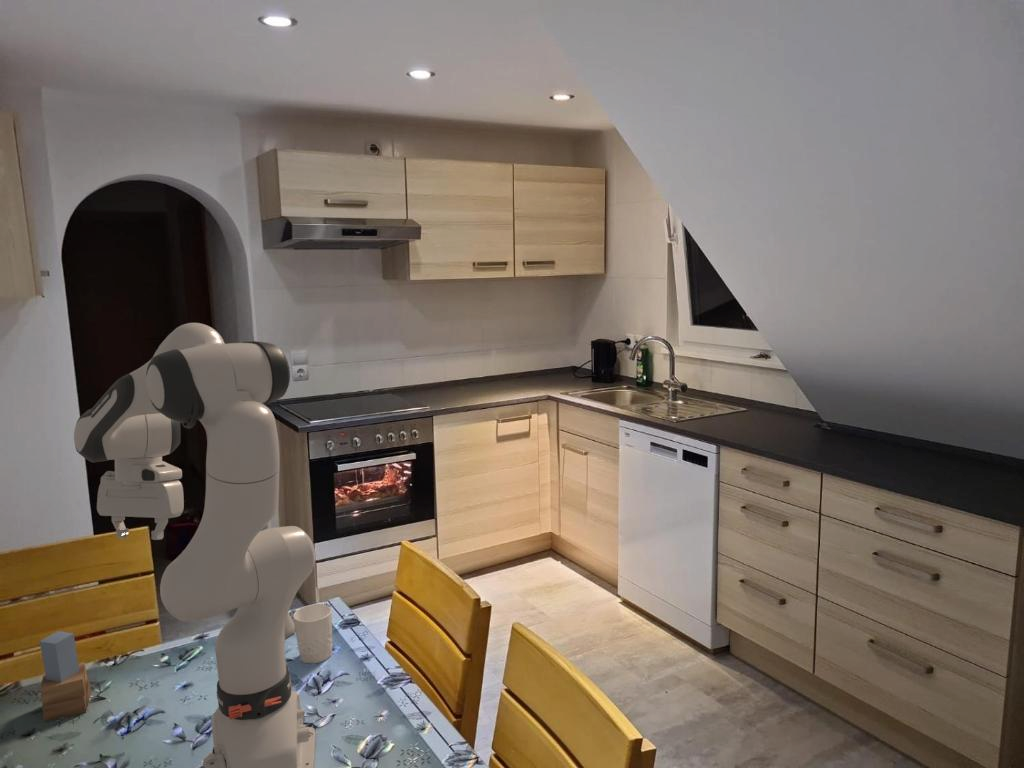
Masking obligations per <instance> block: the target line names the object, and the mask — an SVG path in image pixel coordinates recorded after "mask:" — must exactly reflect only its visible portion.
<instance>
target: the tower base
mask: <svg viewBox="0 0 1024 768" xmlns="http://www.w3.org/2000/svg"><path fill="white" fill-rule="evenodd" d="M90 683H91V682H90V679H89V678H87V684H86V693H85V696H82V697H78V698H74V699H70V700H66V701H62V702H59V703H55V704H51V705H47V706H43V704H42V705H41V711H42V716H43V722H44V723H47V722H51V721H50V720H52V721H55V719H56V720H60V719H63V718H62V717H65V718H68V717H67V716H69V717H73V716H72V715H74V716H77V715H76V714H78V715H81V713H82V714H86V713H87V712H86V711H88V708H89V704H88V703H90V700H89V699H91V696H92V690H91V684H90ZM90 695H91V696H90ZM87 707H88V708H87ZM85 712H86V713H85ZM59 718H60V719H59Z"/></svg>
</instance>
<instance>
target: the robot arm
mask: <svg viewBox="0 0 1024 768" xmlns="http://www.w3.org/2000/svg"><path fill="white" fill-rule="evenodd" d="M290 381H291V369H290V365H289V362H288V359H287V357H286V355H285V354H284V352H283V350H282V349H280V348H279V347H278V346H277V345H276V344H273V343H271V342H263V341H257V340H256V341H253V340H252V341H251V340H250V341H243V342H232V343H231V342H229V343H225V341H224V339H223V337H222V336H221V333H219V332H218V331H217V330H216V329H214V328H213V327H211V326H209V325H207V324H204V323H200V322H188V323H184V324H181V325H179V326H177V327H176V328H175V329H173V331H172V332H170V333H169V334H168V335H167V336H166V337H165V339H164V340H163V341H162V342H161V343H160V344H159V345H158V348H157V349H156V350H155V352H154V354H153V356H152V357H151V358H150V359H149V360H148V361H147V362H146V363H144V364H143V365H141V366H140V367H139V368H137V369H135V370H133V371H131V372H129V373H126V374H125V375H122V376H121V377H119V378H118V379H117V380H116V381H114V382H113V384H112V385H111V386H110V387H109V388H108V389H107V390H106V391H105V393H103V395H102V396H101V398H100V399H99V400H98V401H97V402H96V403H95V405H93V407H92V408H89V409H88V410H86V411H85V412H83V413H82V414H81V415H80V416H79V418H78V419H77V421H76V424H75V426H74V432H73V442H74V447H75V450H76V452H77V454H79V455H80V456H81V457H82V458H84V459H85V460H86V461H88V462H91V463H100V462H107V461H110V460H111V461H113V460H114V471H112V470H107V471H106V472H105V473H104V474H103V475H102V476H101V477H100V483H99V486H98V490H97V497H96V498H97V500H96V501H97V502H96V511H97V513H98V514H99V516H103V517H109V516H110V517H111V523H112V524H113V526H114V529H115V530H116V532H115V533H116V534H115V535H116V538H118V539H124V538H128V537H129V531H130V530H129V528H127V527H126V525H125V522H124V521H125V520H126V517H129V518H130V517H131V518H154V523H155V524H156V526H155V527H154V528H155V529H154V530H151V533H150V534H151V537H150V539H151V540H154V541H158V540H163V539H164V530H165V529H166V526H167V525H168V523H169V519H172V518H177V517H180V516H181V515H182V513H183V512H184V508H185V507H184V505H185V504H184V503H185V500H184V487H183V483H182V482H181V481H180V480H181V479H182V478H183V470H182V469H181V468H179V467H178V466H175V465H173V464H170V463H168V462H166V461H163V457H164V456H167V455H171V454H172V453H173V452H175V450H176V449H177V448H178V447H179V446H180V444H181V441H182V440H181V436H182V435H181V425H182V427H183V428H185V429H192V428H194V427H195V425H196V423H197V421H199V422H200V423H201V425H202V426H203V428H204V430H205V434H206V442H207V443H206V444H207V445H206V459H205V496H204V497H205V498H204V508H203V513H202V517H201V520H200V522H199V525H198V527H197V529H196V531H195V533H194V535H193V536H192V538H191V539H190V541H189V542H188V544H187V546H186V547H185V549H183V550H182V551H181V553H180V554H179V555H178V556H177V557H176V558H175V559H173V561H171V562H170V563H169V564H168V565H167V566H166V568H165V569H164V572H163V574H162V576H161V579H160V584H159V590H160V592H159V593H160V594H159V595H160V599H161V603H162V604H163V606H164V608H165V609H166V610H167V612H168V613H169V614H170V615H171V616H172V617H174V618H176V619H177V620H179V621H180V622H183V623H185V622H192V621H193V622H194V621H199V620H206V619H211V618H215V617H217V616H220V615H222V614H225V613H228V612H230V611H233V610H235V609H237V610H236V612H235V614H234V615H233V616H232V617H231V618H230V620H229V621H228V622H227V623H226V624H225V625H224V626H223V627H222V628H221V630H220V631H219V633H218V634H217V637H216V640H215V644H214V645H215V646H214V650H215V659H216V660H215V661H216V668H217V676H218V677H217V678H218V680H217V682H216V700H217V704H218V707H217V709H215V711H214V713H213V714H212V715H211V716H210V720H211V732H212V743H213V747H212V751H211V752H210V753H209V754H207V755H206V756H205V757H204V758H203V760H202V766H203V768H315V759H316V757H315V756H316V743H317V742H316V741H317V733H316V730H315V728H313V727H311V726H307V725H306V724H304V722H303V719H304V718H305V709H304V708H302V706H301V705H302V704H301V696H300V693H298V692H297V691H294V690H293V689H292V677H291V674H290V669H289V667H288V665H287V663H286V662H287V661H286V645H285V642H286V641H285V639H286V638H285V636H284V633H285V624H286V619H287V615H288V613H290V612H289V611H290V608H291V606H292V603H293V601H294V598H295V597H296V595H297V593H298V591H299V590H300V588H301V586H302V585H303V583H304V582H305V581H306V580H307V579H308V578H309V576H310V575H311V574H312V572H313V571H314V568H315V567H314V566H315V564H316V549H315V544H314V543H313V541H312V539H311V537H310V536H309V534H308V533H307V532H306V531H305V530H303V529H302V528H300V527H299V526H296V525H287V526H278V527H275V526H274V527H269V528H266V529H264V528H265V527H266V526H267V525H268V524H269V523H270V522H271V521H272V520H273V518H274V517H275V515H276V513H277V511H278V507H279V495H280V464H281V463H280V458H281V456H280V443H279V434H278V426H277V423H276V418H275V416H274V414H273V412H272V410H271V409H270V407H268V406H266V405H268V404H271V403H273V402H276V401H277V400H280V399H281V398H283V397H284V396H285V395H286V393H287V392H288V388H289V386H290Z"/></svg>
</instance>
